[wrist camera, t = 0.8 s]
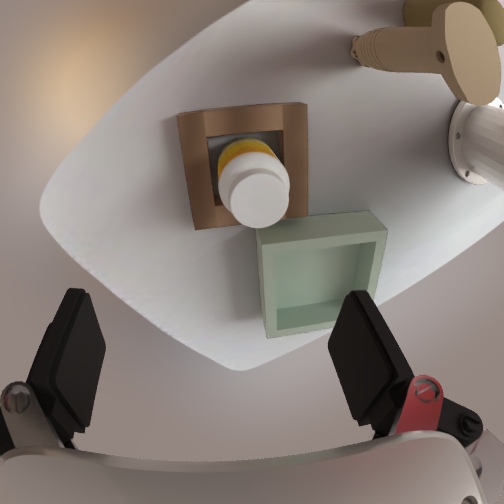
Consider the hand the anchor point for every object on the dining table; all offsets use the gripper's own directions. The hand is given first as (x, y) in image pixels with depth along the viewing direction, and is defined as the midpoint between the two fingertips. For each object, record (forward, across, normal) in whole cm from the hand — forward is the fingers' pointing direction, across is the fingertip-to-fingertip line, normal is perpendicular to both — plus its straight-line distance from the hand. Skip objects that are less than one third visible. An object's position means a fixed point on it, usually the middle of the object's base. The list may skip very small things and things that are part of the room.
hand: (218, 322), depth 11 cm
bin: (+20, -12, +12) cm, 26 cm away
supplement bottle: (+21, -3, 0) cm, 21 cm away
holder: (+20, -3, 0) cm, 21 cm away
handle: (+21, -13, -13) cm, 28 cm away
